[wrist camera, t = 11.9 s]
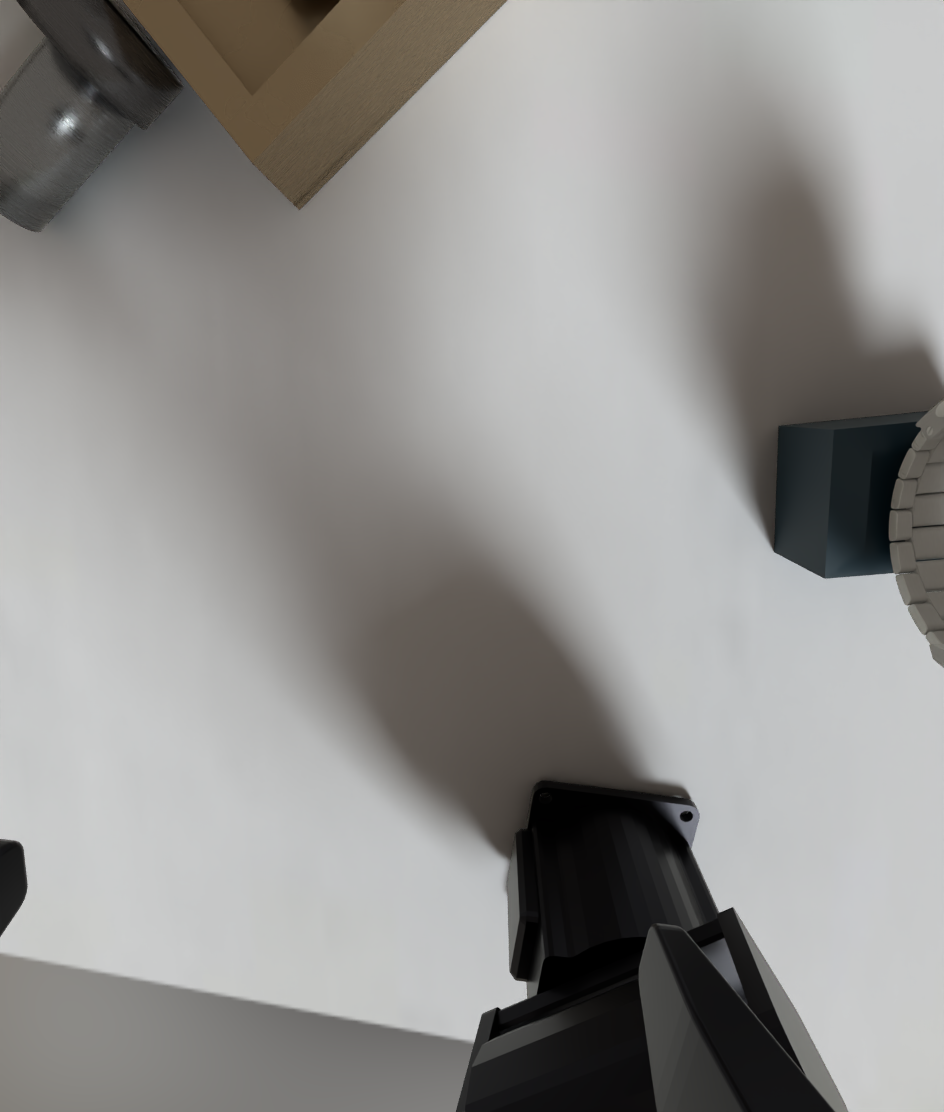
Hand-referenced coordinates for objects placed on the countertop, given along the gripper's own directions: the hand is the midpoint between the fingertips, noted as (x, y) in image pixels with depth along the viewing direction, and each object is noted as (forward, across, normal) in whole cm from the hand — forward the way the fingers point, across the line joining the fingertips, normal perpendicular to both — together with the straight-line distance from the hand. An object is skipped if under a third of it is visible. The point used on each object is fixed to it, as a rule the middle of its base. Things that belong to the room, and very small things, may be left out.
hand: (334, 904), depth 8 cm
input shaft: (+13, +12, -13) cm, 22 cm away
